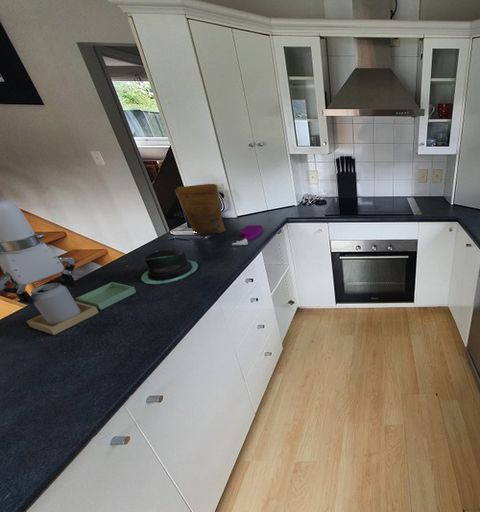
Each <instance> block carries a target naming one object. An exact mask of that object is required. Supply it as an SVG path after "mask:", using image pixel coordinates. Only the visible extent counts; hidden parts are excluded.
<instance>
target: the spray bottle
mask: <svg viewBox="0 0 480 512" xmlns="http://www.w3.org/2000/svg"><path fill="white" fill-rule="evenodd" d="M263 229H264V227H263V226H262V225H261V224H259V225H258V224H251V225H250V224H249V225H246V226H244V228H242V229H241V231H239V236H240V237H242V238H241V240H236V241H235V242H233V243H231V245H232V246H247V245H249V243H248V242H250V241H252V240H254V239H256V238H258V236H260V235H261V233H262V232H263Z"/></svg>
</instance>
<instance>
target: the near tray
mask: <svg viewBox="0 0 480 512" xmlns="http://www.w3.org/2000/svg"><path fill="white" fill-rule="evenodd" d="M74 301H75V303H76V304H77V306H78V308H79V309H80V313H79V314H78V315H76V316H74V317H72V318H69V319H67V320H65V321H63V322H61V323H59V324H57V325H55V324H48V323H47V322H46V321H45V319H44V318H43V316H42V315H41V314H39V315H37V316H34V317H32V318H30V319H27V320H26V323H27V324H28V326H29V327H30V328H33V329H35V330H38V331H41V332H44V333H47V334H50V335H52V336H55V335H57V334H59V333H62V332H63V331H66V330H67V329H69V328H71V327H73V326H76V325H78V324H79V323H81V322H84V321H85V320H88V319H89V318H91V317H93V316H95V315H97V314H100V312H99V309H97V308H96V307H94V306H91V305H87V304H84V303H80V302H77V300H74Z"/></svg>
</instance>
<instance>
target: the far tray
mask: <svg viewBox="0 0 480 512" xmlns="http://www.w3.org/2000/svg"><path fill="white" fill-rule="evenodd" d="M135 293H137V291H136V288H135V286H131V285H126V284H123V283H119V282H114V281H111V282H109V283H107V284H105V285H102V286H100V287H98V288H96V289H95V288H94V289H93V290H90V291H89V292H86V293H84V294H82V295H79V296H78V297H75V299H74V300H75V301H76V302H80V303H84V304H87V305H91V306H94V307H96V308H97V310H98V311H102V310H103V309H106V308H108V307H110V306H112V305H114V304H116V303H118V302H120V301H122V300H123V299H126V298H128V297H130V296H132V295H134V294H135Z"/></svg>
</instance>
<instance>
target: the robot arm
mask: <svg viewBox="0 0 480 512" xmlns="http://www.w3.org/2000/svg"><path fill="white" fill-rule="evenodd" d="M44 238H45V234H43V233H36V232H35V231H34V230H33V228H32V226H31V224H30V223H29V221H28V220H27V218H26V216H25V215H24V213H23V212H22V210H21V208H20V207H19V205H18V204H17V202H16V201H15V200H13V199H10V198H0V268H1V270H2V272H3V275H2V276H1V277H0V291H1V292H4V293H9V294H10V293H11V294H15V295H16V297H17V298H18V299H19V301H20V302H21V303H23V304H24V303H25V304H29V305H34V301H33V300H32V298H31V297H30V296H31V294H29V292H28V291H25V289H26V288H27V285H30V284H33V283H37V282H39V281H41V280H44V279H46V278H49V277H52V276H55V275H58V274H61V275H60V277H61V279H62V280H63V281H64V283H65V285H66V286H68V287H72V288H73V287H76V284H75V283H76V279H75V278H74V277H73V271H74V270H75V267H76V265H75V264H76V258H74V257H58V256H57V255H56V253H55V252H54V251H53V250H52V249H51V248H50V247H49V246H48V245H47V244H46V243H45V242H43V241H41V240H42V239H44ZM63 263H67V264H66V266H65V267H64V264H63ZM8 282H10V283H11V284H13V285H12V287H8V286H5V284H7V283H8Z"/></svg>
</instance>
